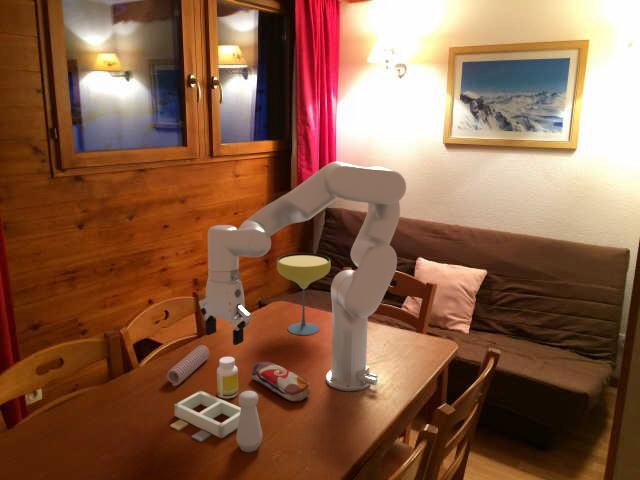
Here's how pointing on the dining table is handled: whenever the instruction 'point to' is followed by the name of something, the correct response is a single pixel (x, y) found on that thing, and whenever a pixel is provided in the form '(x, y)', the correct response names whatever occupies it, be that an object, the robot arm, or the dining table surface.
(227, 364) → the supplement bottle
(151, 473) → the dining table surface
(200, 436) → the slate tag
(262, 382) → the pencil case
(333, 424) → the dining table surface
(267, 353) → the dining table surface
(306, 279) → the cocktail glass
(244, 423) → the salt shaker
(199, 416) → the socket block
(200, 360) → the coil
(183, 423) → the brass tag
